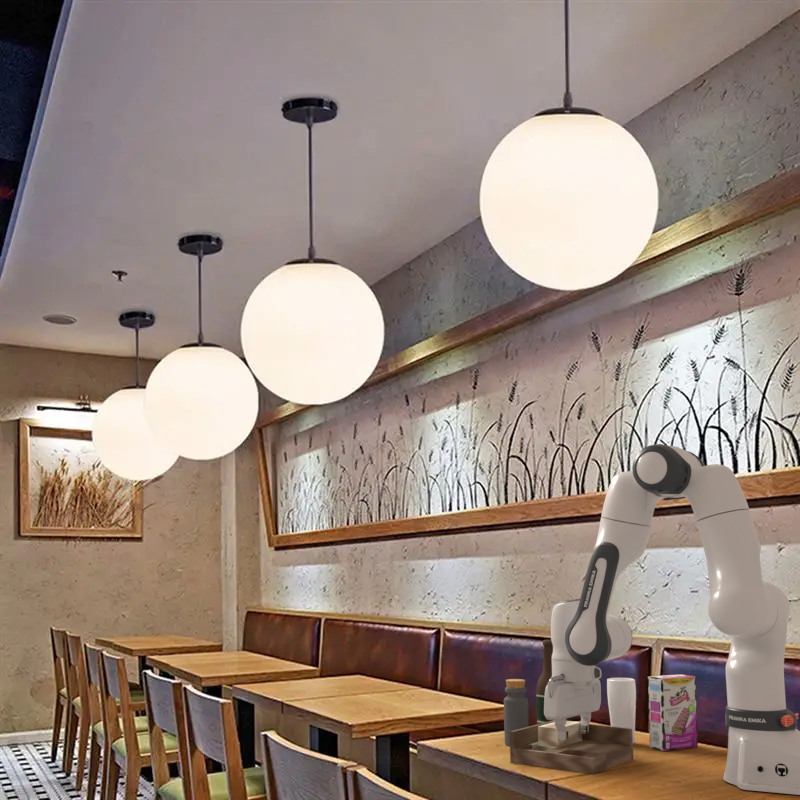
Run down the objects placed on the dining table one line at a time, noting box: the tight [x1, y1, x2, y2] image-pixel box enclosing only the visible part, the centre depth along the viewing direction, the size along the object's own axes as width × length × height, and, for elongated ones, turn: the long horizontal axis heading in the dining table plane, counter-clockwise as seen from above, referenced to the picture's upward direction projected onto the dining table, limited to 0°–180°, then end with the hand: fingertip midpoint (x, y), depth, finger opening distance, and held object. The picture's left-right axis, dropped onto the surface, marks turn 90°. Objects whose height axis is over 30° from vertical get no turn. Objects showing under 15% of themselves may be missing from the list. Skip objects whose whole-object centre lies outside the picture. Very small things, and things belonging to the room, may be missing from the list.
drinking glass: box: [606, 677, 637, 745], centre depth 237 cm, size 7×7×15 cm
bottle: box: [503, 678, 530, 747], centre depth 237 cm, size 6×6×15 cm
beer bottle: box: [535, 639, 568, 724], centre depth 243 cm, size 8×8×24 cm
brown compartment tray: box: [509, 720, 634, 775], centre depth 217 cm, size 20×19×6 cm
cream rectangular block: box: [538, 720, 582, 748], centre depth 221 cm, size 5×11×4 cm, turn 142°
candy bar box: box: [647, 674, 699, 752], centre depth 231 cm, size 11×5×16 cm, turn 120°
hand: (573, 736), depth 219 cm, fingers open, 8 cm apart
